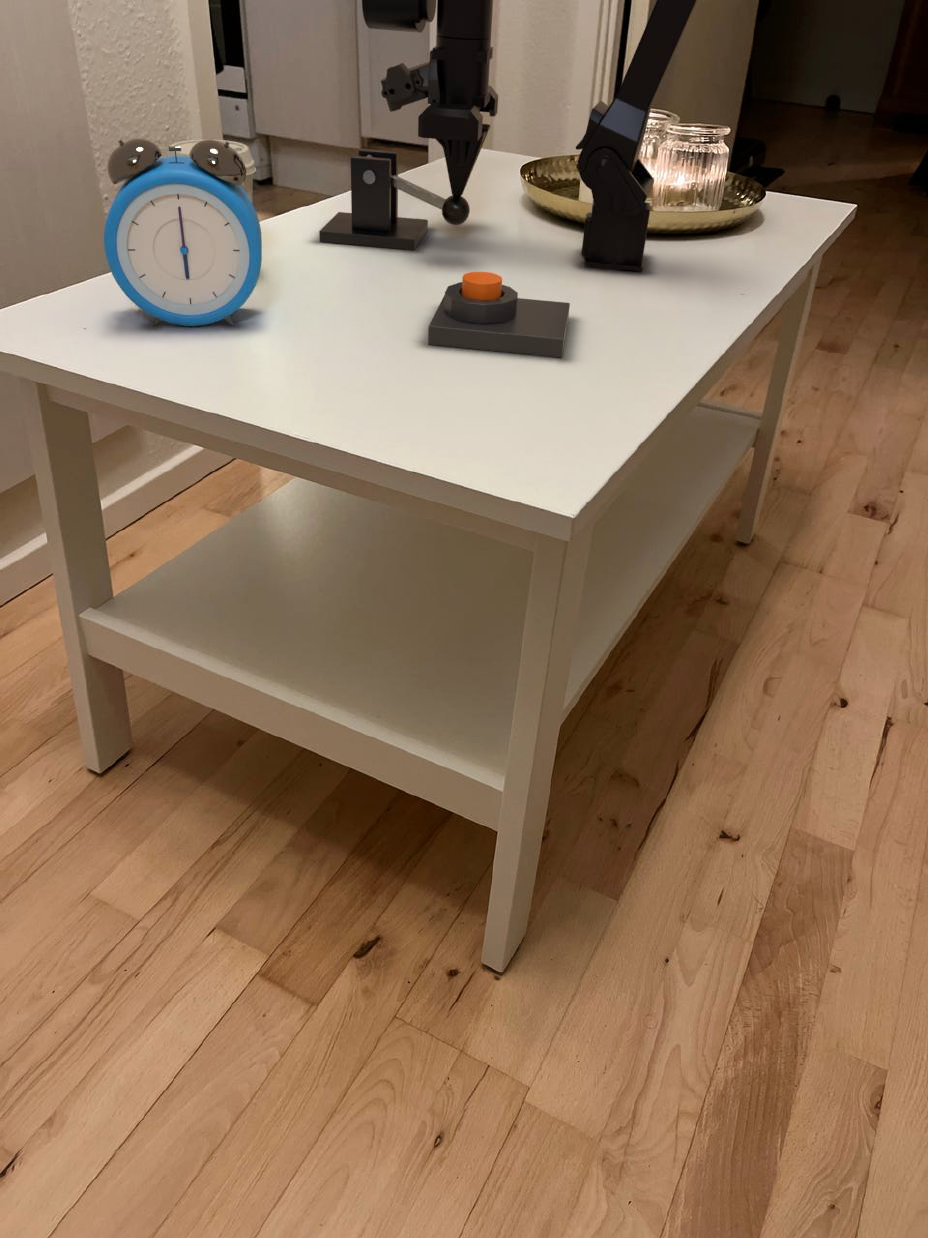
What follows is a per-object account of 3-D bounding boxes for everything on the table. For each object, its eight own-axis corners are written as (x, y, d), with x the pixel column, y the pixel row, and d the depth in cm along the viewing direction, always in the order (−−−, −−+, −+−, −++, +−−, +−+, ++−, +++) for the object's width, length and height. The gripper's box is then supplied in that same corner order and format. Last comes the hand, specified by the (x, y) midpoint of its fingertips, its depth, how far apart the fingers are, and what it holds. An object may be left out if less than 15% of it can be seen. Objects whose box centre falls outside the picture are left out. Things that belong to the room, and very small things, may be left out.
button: (502, 292, 91) (504, 273, 90) (498, 304, 88) (499, 285, 87) (464, 288, 92) (465, 269, 90) (458, 301, 89) (459, 281, 88)
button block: (568, 320, 95) (572, 283, 93) (561, 357, 87) (566, 318, 85) (445, 308, 96) (446, 272, 94) (427, 344, 88) (428, 305, 86)
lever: (465, 225, 115) (475, 199, 113) (461, 232, 113) (471, 205, 111) (362, 176, 114) (371, 149, 112) (355, 183, 111) (364, 154, 109)
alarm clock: (116, 330, 87) (86, 145, 78) (124, 306, 92) (96, 130, 83) (266, 328, 89) (254, 148, 81) (266, 305, 94) (254, 133, 85)
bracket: (427, 229, 119) (429, 150, 114) (414, 250, 112) (415, 166, 106) (338, 221, 120) (336, 142, 115) (319, 241, 112) (316, 158, 107)
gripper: (404, 22, 111) (403, 172, 120) (368, 40, 96) (369, 209, 105) (502, 29, 110) (493, 179, 119) (481, 48, 95) (473, 218, 104)
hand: (457, 195), depth 112 cm, fingers closed, pressing on lever
